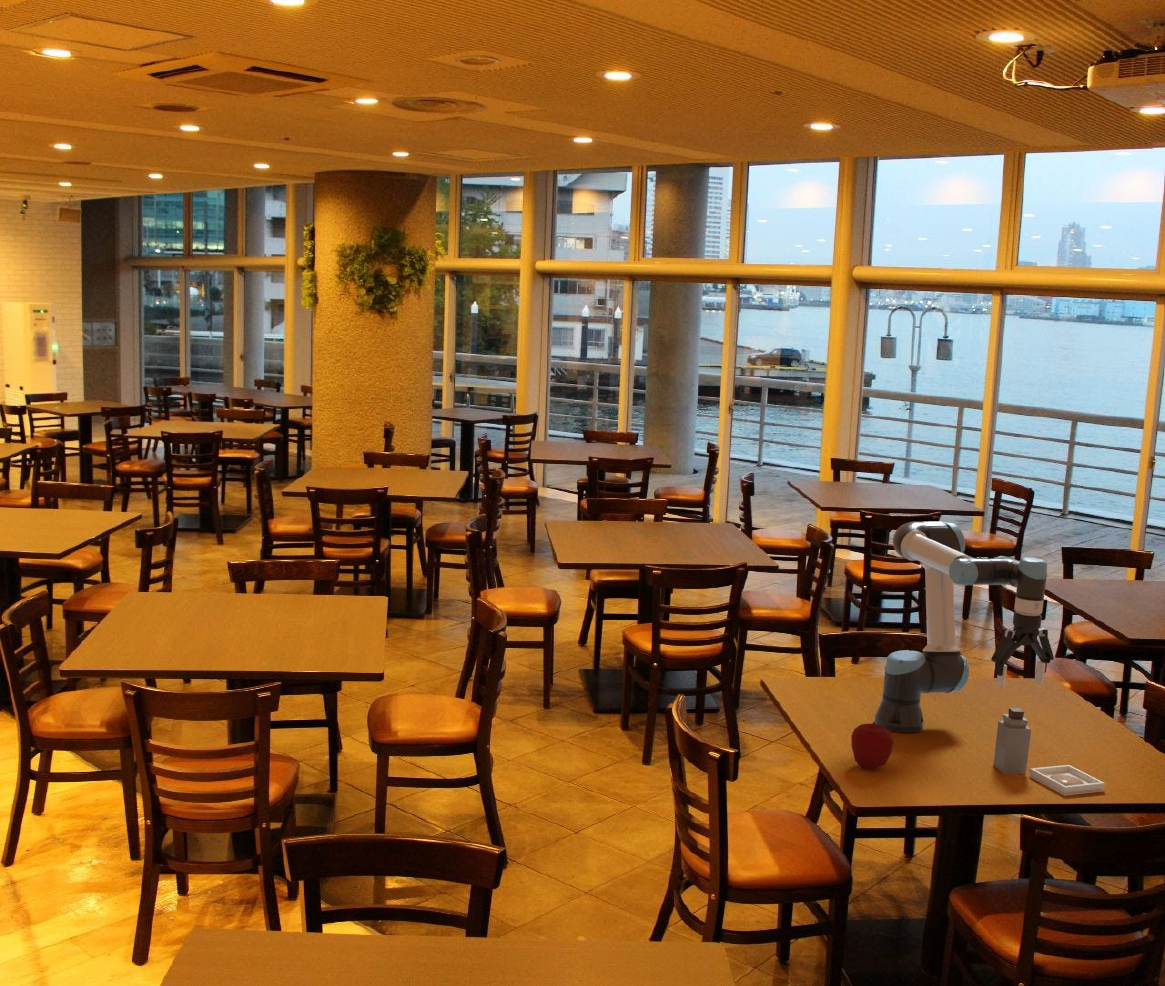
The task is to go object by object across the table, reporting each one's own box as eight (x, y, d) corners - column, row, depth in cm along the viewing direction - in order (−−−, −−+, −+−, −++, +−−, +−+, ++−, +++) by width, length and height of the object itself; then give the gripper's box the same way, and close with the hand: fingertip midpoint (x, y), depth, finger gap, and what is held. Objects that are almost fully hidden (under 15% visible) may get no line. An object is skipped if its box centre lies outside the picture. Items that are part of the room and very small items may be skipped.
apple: (882, 779, 344) (887, 733, 342) (842, 769, 350) (846, 723, 348) (896, 767, 354) (900, 722, 352) (857, 757, 360) (861, 713, 358)
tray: (1064, 795, 340) (1065, 787, 340) (1029, 776, 353) (1030, 768, 353) (1104, 791, 345) (1105, 783, 345) (1068, 772, 358) (1069, 764, 358)
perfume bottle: (993, 764, 361) (1000, 705, 358) (1015, 765, 361) (1022, 706, 359) (1003, 773, 354) (1010, 713, 351) (1025, 774, 355) (1032, 714, 352)
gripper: (1001, 617, 343) (992, 691, 346) (1072, 614, 352) (1063, 686, 355) (983, 610, 350) (975, 683, 353) (1053, 608, 359) (1045, 678, 362)
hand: (1019, 685), depth 354 cm, fingers open, 13 cm apart
